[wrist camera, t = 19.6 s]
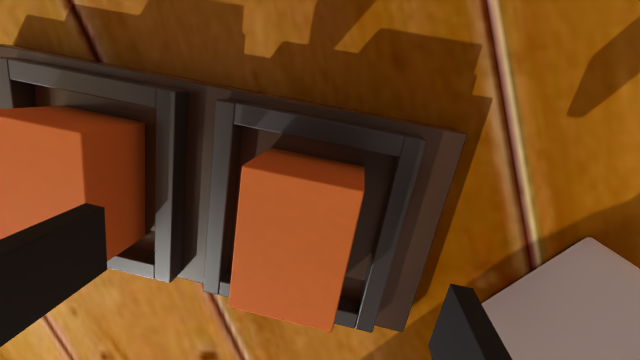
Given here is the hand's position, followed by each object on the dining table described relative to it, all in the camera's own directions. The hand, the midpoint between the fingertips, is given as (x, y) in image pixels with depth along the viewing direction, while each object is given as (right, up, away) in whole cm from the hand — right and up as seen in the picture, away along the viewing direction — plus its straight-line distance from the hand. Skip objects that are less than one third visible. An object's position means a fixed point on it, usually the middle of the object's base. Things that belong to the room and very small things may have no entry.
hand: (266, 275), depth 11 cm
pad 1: (-11, +4, +7) cm, 13 cm away
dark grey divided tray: (-5, +3, +8) cm, 9 cm away
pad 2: (+1, +1, +6) cm, 6 cm away
